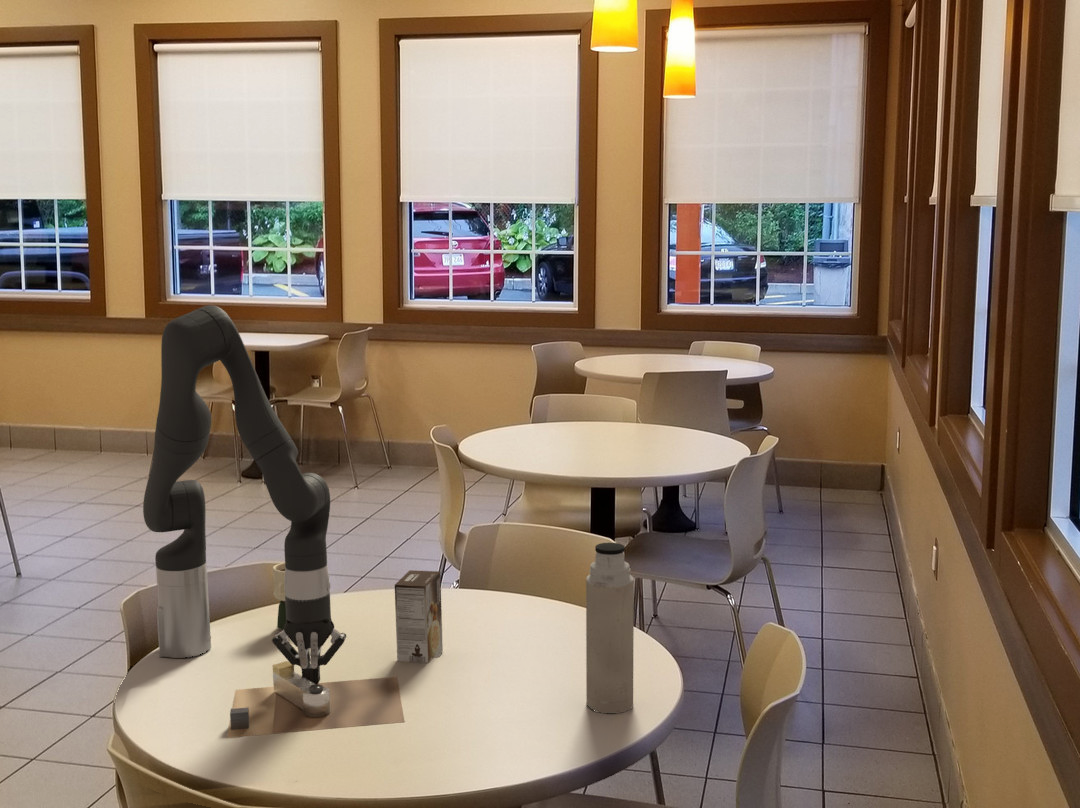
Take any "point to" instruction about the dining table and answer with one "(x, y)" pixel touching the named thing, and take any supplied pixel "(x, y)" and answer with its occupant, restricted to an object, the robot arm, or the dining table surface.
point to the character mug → (280, 593)
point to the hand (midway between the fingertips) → (311, 686)
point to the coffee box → (418, 616)
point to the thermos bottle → (609, 631)
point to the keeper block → (239, 718)
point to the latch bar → (301, 690)
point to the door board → (348, 709)
